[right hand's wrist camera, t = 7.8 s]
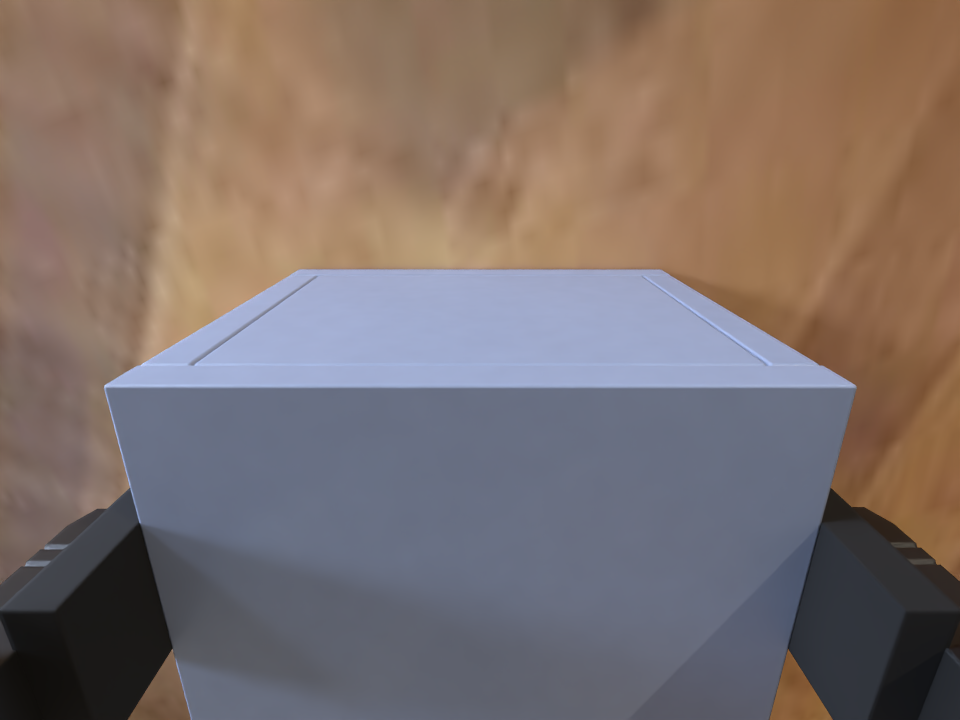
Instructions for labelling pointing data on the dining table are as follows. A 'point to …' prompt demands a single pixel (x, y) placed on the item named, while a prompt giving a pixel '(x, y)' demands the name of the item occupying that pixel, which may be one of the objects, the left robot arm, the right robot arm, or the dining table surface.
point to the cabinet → (480, 498)
